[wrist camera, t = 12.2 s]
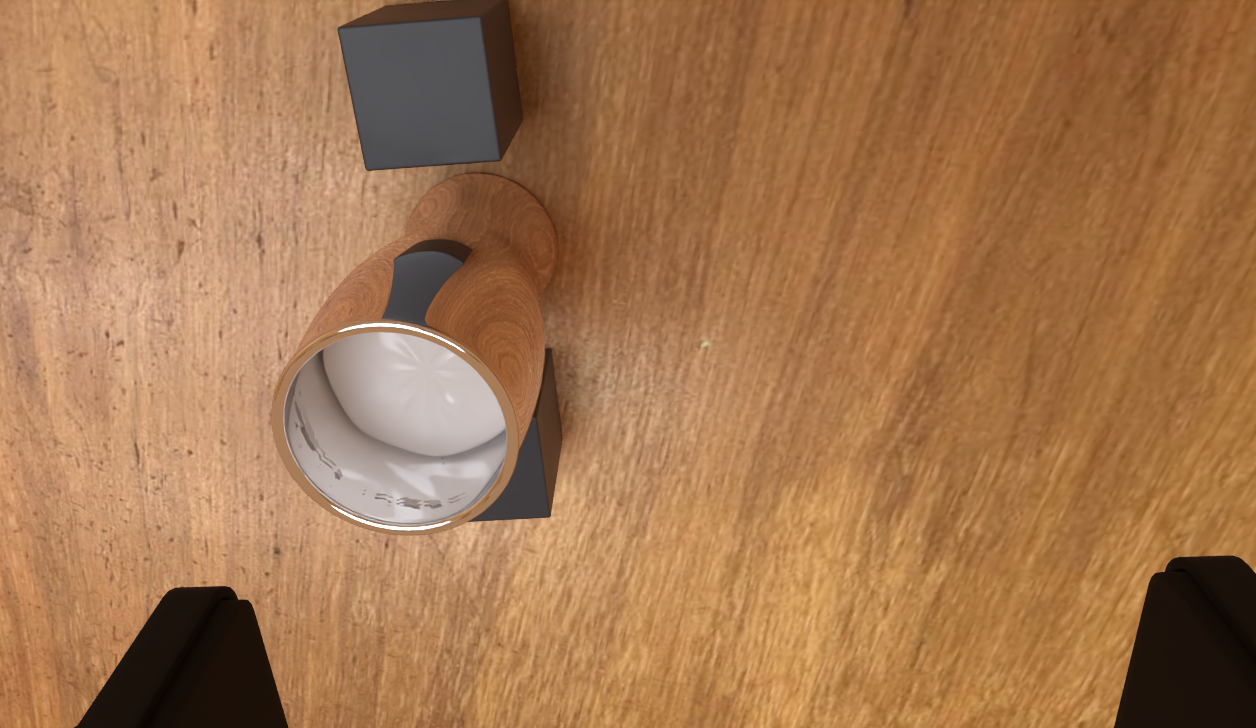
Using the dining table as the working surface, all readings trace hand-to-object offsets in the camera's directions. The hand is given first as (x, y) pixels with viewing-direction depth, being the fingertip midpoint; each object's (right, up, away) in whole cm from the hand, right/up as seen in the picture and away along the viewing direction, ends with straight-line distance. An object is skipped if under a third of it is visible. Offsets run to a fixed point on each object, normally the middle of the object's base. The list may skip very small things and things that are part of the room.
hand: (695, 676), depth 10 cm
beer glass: (-7, +8, +29) cm, 31 cm away
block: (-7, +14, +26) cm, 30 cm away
